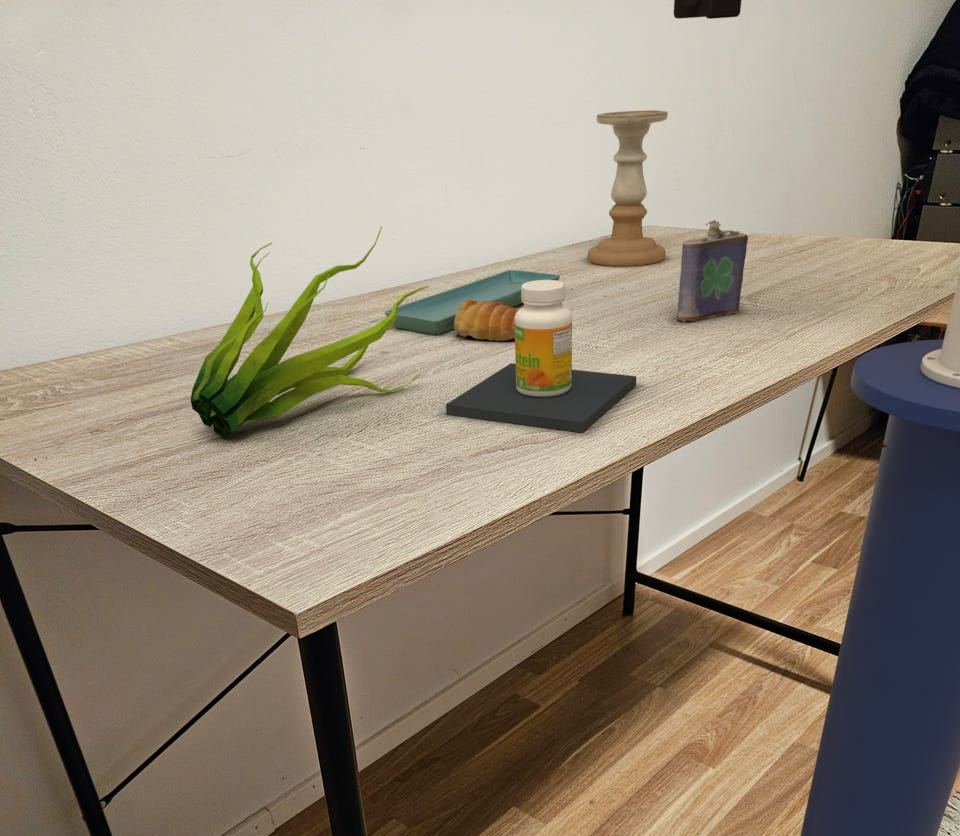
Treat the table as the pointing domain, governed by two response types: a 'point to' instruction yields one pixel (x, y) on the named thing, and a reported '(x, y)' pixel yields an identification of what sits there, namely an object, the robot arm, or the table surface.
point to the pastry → (485, 320)
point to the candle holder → (628, 193)
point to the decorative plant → (276, 361)
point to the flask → (711, 274)
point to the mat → (543, 400)
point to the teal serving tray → (442, 307)
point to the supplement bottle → (543, 340)
